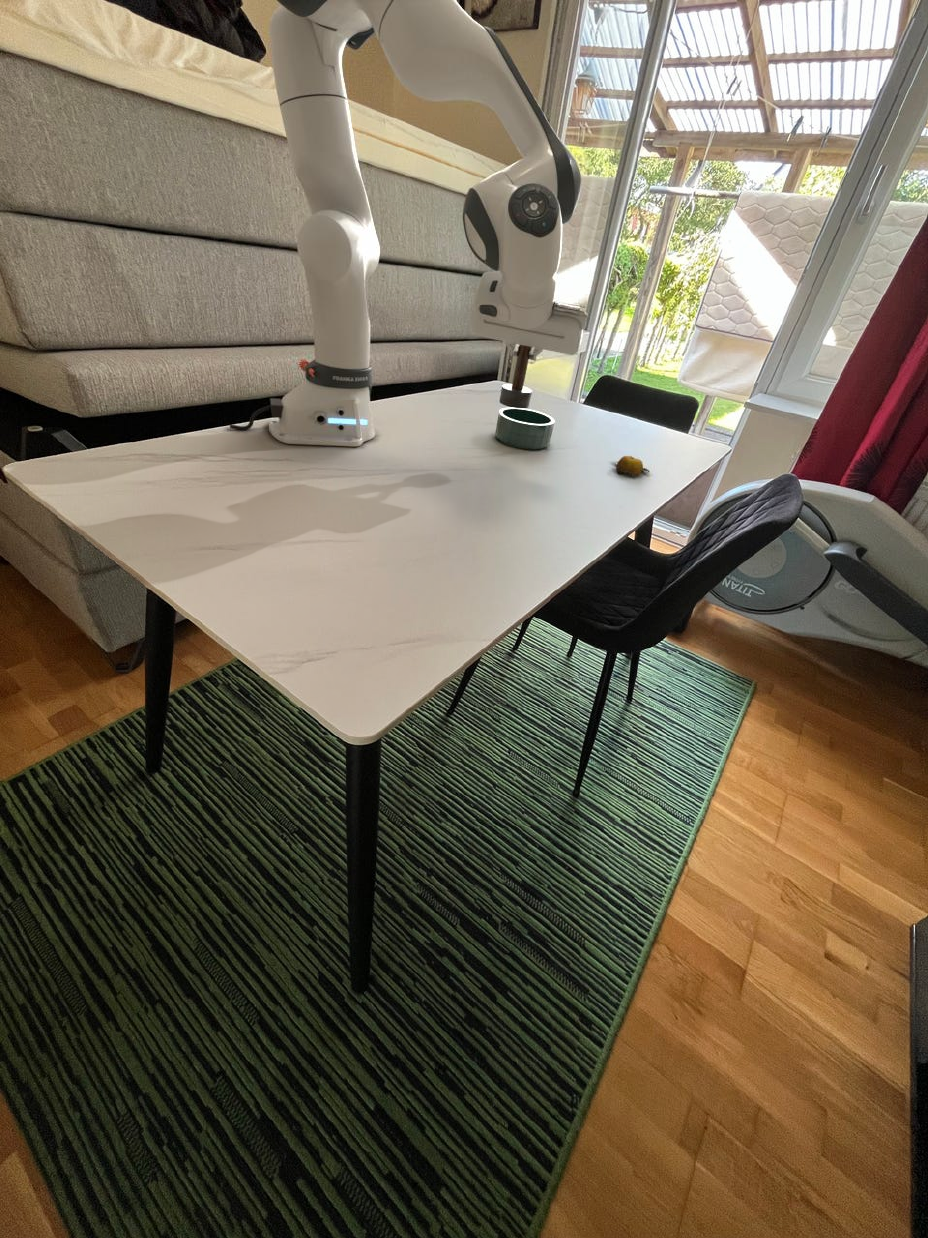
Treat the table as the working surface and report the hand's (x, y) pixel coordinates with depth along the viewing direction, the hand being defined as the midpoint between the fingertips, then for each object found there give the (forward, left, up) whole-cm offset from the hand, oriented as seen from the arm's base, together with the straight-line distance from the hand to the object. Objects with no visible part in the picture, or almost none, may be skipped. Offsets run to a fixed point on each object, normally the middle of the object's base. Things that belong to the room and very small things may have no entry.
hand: (523, 355), depth 99 cm
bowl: (+15, +15, -22) cm, 31 cm away
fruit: (+32, -6, -22) cm, 39 cm away
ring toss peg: (-1, 0, -9) cm, 9 cm away
